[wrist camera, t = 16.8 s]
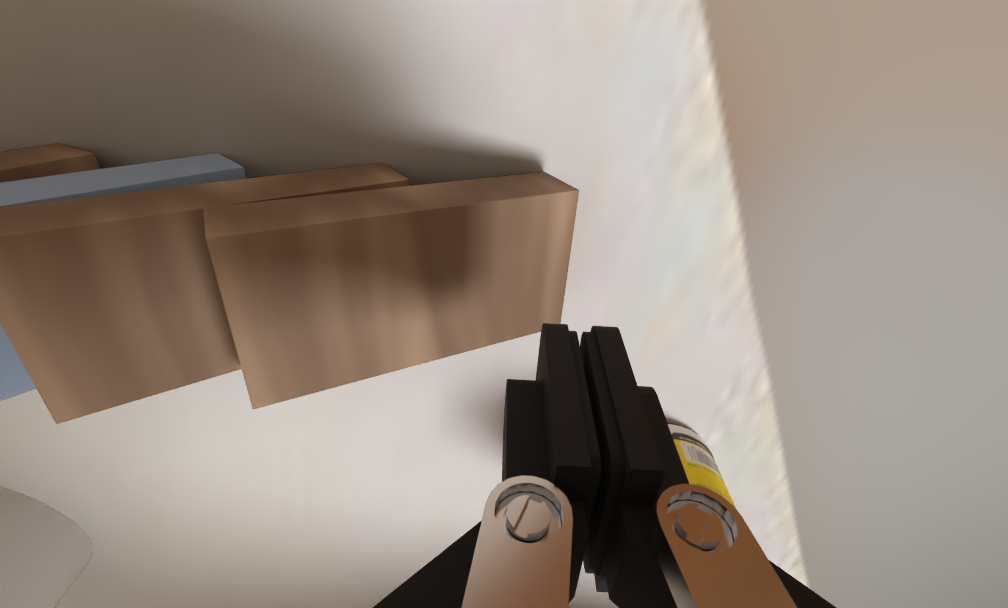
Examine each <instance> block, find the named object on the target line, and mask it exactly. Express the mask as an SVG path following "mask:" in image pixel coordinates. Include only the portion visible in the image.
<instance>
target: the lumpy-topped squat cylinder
mask: <svg viewBox="0 0 1008 608" xmlns="http://www.w3.org/2000/svg"><path fill="white" fill-rule="evenodd" d="M91 554H92V544H91V541H90V539H89V537H88V536H87V534H86V533H85V532H84V531H83V529H82V528H81V527H80V526H78V525H77V524H76V523H75V522H74V521H72V520H71V519H69V518H68V517H66V516H65V515H63V514H62V513H60V512H58V511H56V510H54V509H53V508H51V507H49V506H47V505H45V504H43V503H41V502H38V501H36V500H34V499H32V498H30V497H27V496H25V495H22V494H20V493H17V492H14V491H11V490H8V489H5V488H2V487H0V608H54V607H55V606H56V604H57V603H58V602H59V600H60V599H61V598H62V596H63V595H64V594H65V592H66V591H67V590H68V589H69V587H70V586H71V585H72V583H73V582H74V581H75V579H76V578H77V577H78V575H79V574H80V573H81V572H82V570H83V569H84V568H85V566H86V565H87V563H88V562H89V560H90V557H91Z"/></svg>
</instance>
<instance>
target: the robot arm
mask: <svg viewBox="0 0 1008 608" xmlns="http://www.w3.org/2000/svg"><path fill="white" fill-rule="evenodd" d="M582 561H583V562H584V569H585V572H586V573H594V575H595V582H596V589H597V592H608V594H609V599H610V600H611V601H612V602H613V603H614V604H616V605H617V606H618V607H619V608H836V607H835V606H833V605H832V604H830V603H829V602H827V601H826V600H825V599H823V598H822V597H820V596H819V595H818V594H816V593H815V592H813V591H812V590H810V589H809V588H808V587H806V586H805V585H803V584H802V583H801V582H799V581H798V580H796V579H795V578H793V577H792V576H791V575H789V574H788V573H786V572H785V571H783V570H782V569H781V568H779V567H778V566H776V565H775V564H774V563H772V562H771V561H769V560H768V559H767V557H766V555H765V554H764V552H763V550H762V549H761V547H760V545H759V544H758V542H757V541H756V539H755V537H754V536H753V534H752V532H751V531H750V529H749V527H748V526H747V524H746V523H745V521H744V519H743V518H742V516H741V515H740V513H739V512H738V511H737V510H736V508H735V507H734V506H733V505H732V504H731V503H730V502H729V501H727V500H726V499H725V498H724V497H723V496H721V495H720V494H718V493H716V492H714V491H712V490H710V489H708V488H705V487H702V486H698V485H695V484H689V481H688V478H687V475H686V473H685V470H684V467H683V465H682V462H681V459H680V456H679V454H678V451H677V448H676V445H675V443H674V440H673V437H672V435H671V432H670V429H669V426H668V424H667V421H666V418H665V415H664V413H663V410H662V407H661V405H660V402H659V399H658V396H657V394H656V392H655V390H654V389H653V388H652V387H643V386H637V383H636V380H635V377H634V374H633V371H632V368H631V365H630V362H629V359H628V355H627V352H626V349H625V346H624V343H623V340H622V337H621V334H620V331H619V329H618V328H617V327H603V326H593V327H592V328H591V332H583V333H582V337H581V343H580V346H579V341H578V336H577V332H576V331H569V330H568V325H567V324H549V323H543V324H542V330H541V338H540V347H539V356H538V365H537V373H536V381H531V380H512V379H507V383H506V396H505V410H504V429H503V462H502V482H501V483H500V484H498V485H497V486H496V487H495V488H494V489H493V490H492V491H491V493H490V495H489V497H488V499H487V502H486V504H485V509H484V513H483V517H482V521H481V522H479V523H478V524H477V525H476V526H474V527H473V528H472V529H471V530H469V531H468V532H467V533H465V534H464V535H463V536H462V537H460V538H459V539H458V540H457V541H455V542H454V543H453V544H452V545H450V546H449V547H448V548H447V549H445V550H444V551H443V552H442V553H440V554H439V555H438V556H437V557H435V558H434V559H433V560H432V561H430V562H429V563H428V564H427V565H425V566H424V567H423V568H422V569H420V570H419V571H418V572H417V573H415V574H414V575H413V576H412V577H410V578H409V579H408V580H407V581H405V582H404V583H403V584H402V585H400V586H399V587H398V588H397V589H395V590H394V591H393V592H392V593H390V594H389V595H388V596H387V597H385V598H384V599H383V600H382V601H380V602H379V603H378V604H377V605H375V606H374V607H373V608H568V603H569V602H570V601H571V600H572V599H573V598H574V596H575V591H576V587H577V583H578V579H579V574H580V570H581V566H582Z"/></svg>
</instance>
